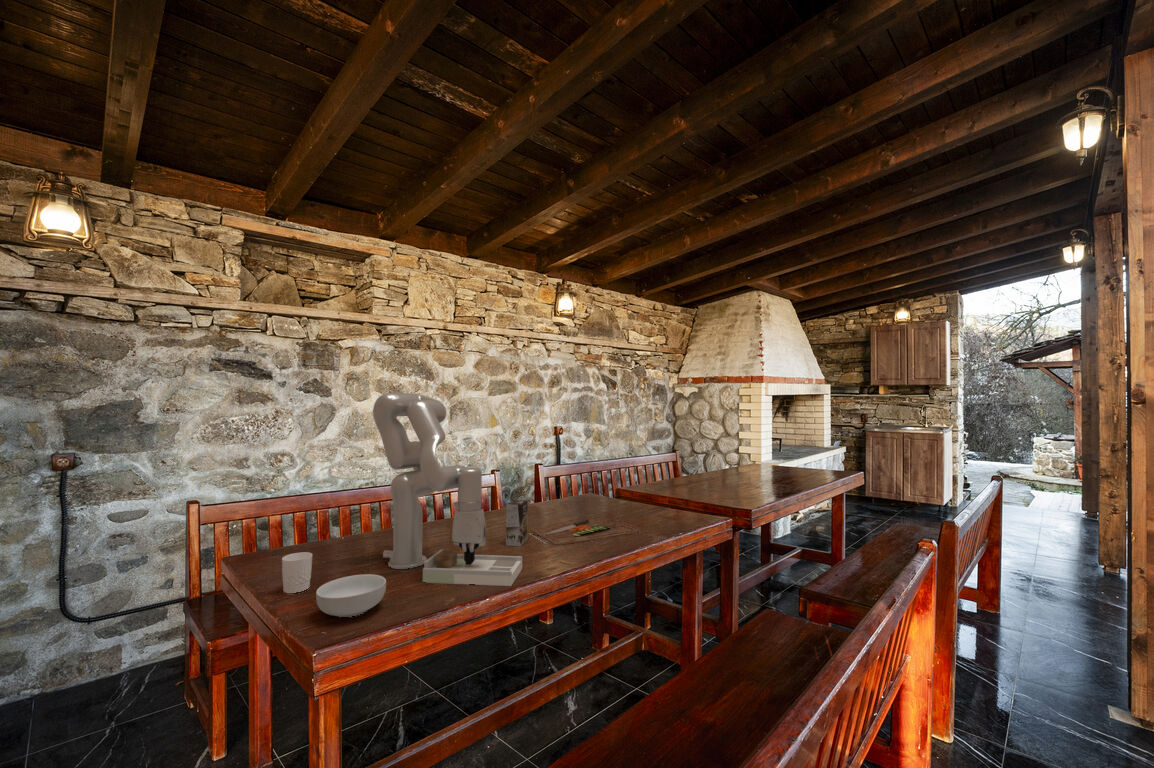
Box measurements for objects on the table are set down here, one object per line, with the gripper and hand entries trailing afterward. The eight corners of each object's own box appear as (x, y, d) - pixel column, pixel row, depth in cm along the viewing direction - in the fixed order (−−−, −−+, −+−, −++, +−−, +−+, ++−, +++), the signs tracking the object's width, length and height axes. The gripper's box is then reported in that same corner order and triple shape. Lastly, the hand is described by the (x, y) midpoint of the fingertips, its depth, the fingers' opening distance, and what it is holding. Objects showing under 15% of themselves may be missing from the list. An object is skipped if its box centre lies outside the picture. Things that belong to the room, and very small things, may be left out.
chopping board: (550, 549, 182) (550, 540, 183) (524, 532, 206) (524, 525, 206) (645, 533, 204) (644, 526, 204) (611, 520, 227) (611, 513, 228)
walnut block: (436, 567, 152) (436, 555, 152) (442, 562, 157) (442, 550, 157) (451, 568, 151) (451, 555, 151) (457, 563, 156) (457, 550, 156)
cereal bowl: (372, 593, 139) (373, 569, 139) (395, 611, 127) (396, 584, 127) (307, 611, 127) (308, 584, 127) (326, 632, 115) (326, 603, 115)
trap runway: (422, 582, 147) (422, 563, 147) (441, 566, 162) (442, 548, 162) (510, 586, 144) (510, 566, 144) (522, 569, 159) (522, 550, 159)
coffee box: (521, 546, 184) (521, 504, 185) (505, 545, 185) (505, 504, 186) (528, 540, 193) (528, 500, 193) (513, 539, 194) (513, 499, 195)
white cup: (289, 597, 136) (290, 562, 137) (275, 592, 140) (276, 557, 141) (317, 588, 143) (317, 554, 143) (303, 583, 147) (303, 550, 147)
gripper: (443, 508, 151) (442, 566, 150) (488, 509, 149) (488, 568, 149) (451, 503, 159) (451, 559, 158) (495, 504, 157) (495, 560, 156)
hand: (469, 563), depth 153 cm, fingers closed
